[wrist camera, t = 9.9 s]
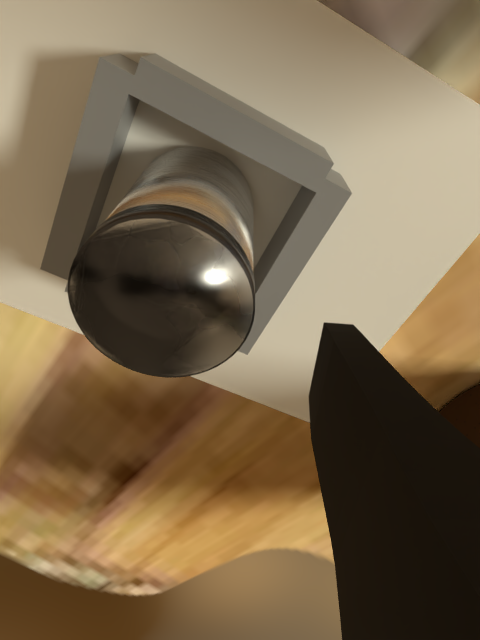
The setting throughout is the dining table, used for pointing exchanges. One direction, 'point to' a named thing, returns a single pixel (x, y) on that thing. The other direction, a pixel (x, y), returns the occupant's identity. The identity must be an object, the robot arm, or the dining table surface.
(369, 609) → the robot arm
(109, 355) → the lens
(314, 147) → the mount plate
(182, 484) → the dining table surface
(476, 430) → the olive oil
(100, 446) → the dining table surface
